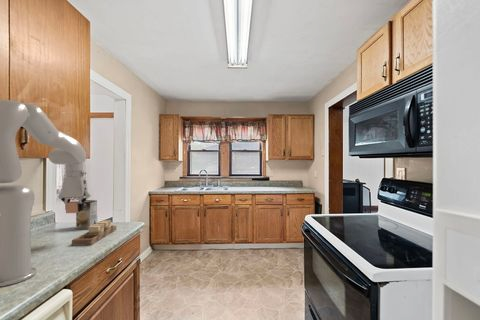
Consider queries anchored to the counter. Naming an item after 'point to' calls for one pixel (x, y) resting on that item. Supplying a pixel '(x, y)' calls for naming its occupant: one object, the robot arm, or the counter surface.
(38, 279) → the counter surface
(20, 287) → the counter surface
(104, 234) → the walnut tray
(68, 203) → the brick cube
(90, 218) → the coffee box
